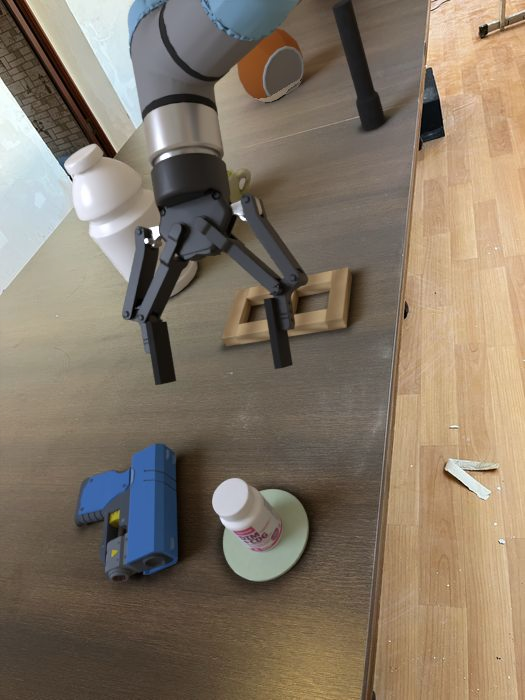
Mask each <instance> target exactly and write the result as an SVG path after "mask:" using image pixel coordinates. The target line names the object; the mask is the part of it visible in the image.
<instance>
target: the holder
mask: <svg viewBox="0 0 525 700" xmlns="http://www.w3.org/2000/svg"><path fill="white" fill-rule="evenodd" d="M307 276H308V283H307V284H306V285H304V286H301V287H299V288H298V289H296V290H295V291H294V292H293V293H292V296H291V300H292V306H293V312H294V319H295V327H294V329H292V330H287V332H288V338H290V337H295V336H301V335H309V334H314V333H322V332H328V331H334V330H340V329H346V328H347V327H348V319H349V311H350V310H349V309H350V299H351V291H352V282H353V275H352V272H351V270H350V267H349V266H346V267H342V268H337V269H333V270H328V271H323V272H318V273H313V274H309V275H307ZM327 292H329V295H328V301H327V307H326V308H323V309H318V310H313V311H307V312H301V313H297V309H298V303H299V299H300V298H302V297H309V296H312V295H317V294H318V295H319V294H323V293H327ZM269 293H270V292H269V291H268V290H267V289H266V288H265V287H263V286H262V285H261V284H260V285H255V286H252V287H246V288H243V289H238V290H236V292H235V295H234V298H233V301H232V304H231V307H230V310H229V313H228V317H227V319H226V322H225V325H224V329H223V331H222V335H221V340H222V341H223V343H224V344H225V346H226V347H232V346H239V345H246V344H250V343H258V342H264V341H270V336H269V330H268V324H267V318H266V319H261V320H260V319H259V320H255V321H249V322H248V320H249V316H250V313H251V309H252V307H255V306H260V305H264V299H267V298H273V295H270V294H269Z"/></svg>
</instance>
